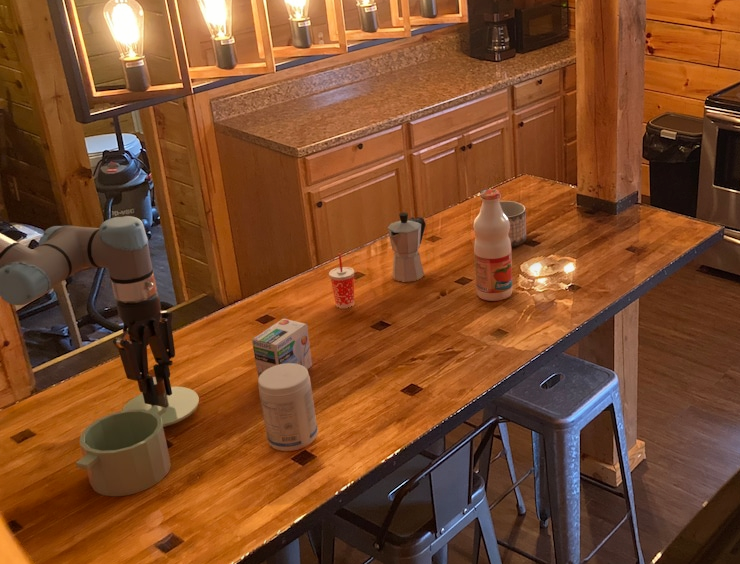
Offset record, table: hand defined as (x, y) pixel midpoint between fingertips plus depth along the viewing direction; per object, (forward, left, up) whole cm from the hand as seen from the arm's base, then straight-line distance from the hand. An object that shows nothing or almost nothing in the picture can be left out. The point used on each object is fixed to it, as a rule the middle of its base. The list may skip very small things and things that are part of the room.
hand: (158, 398), depth 193 cm
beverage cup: (+8, +55, -4) cm, 56 cm away
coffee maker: (+15, +76, -4) cm, 78 cm away
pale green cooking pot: (+8, -17, -4) cm, 19 cm away
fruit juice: (+41, +73, -4) cm, 84 cm away
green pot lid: (0, 0, -2) cm, 2 cm away
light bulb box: (+14, +22, -4) cm, 26 cm away
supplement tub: (+30, +2, -4) cm, 30 cm away
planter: (+30, +104, -4) cm, 108 cm away
